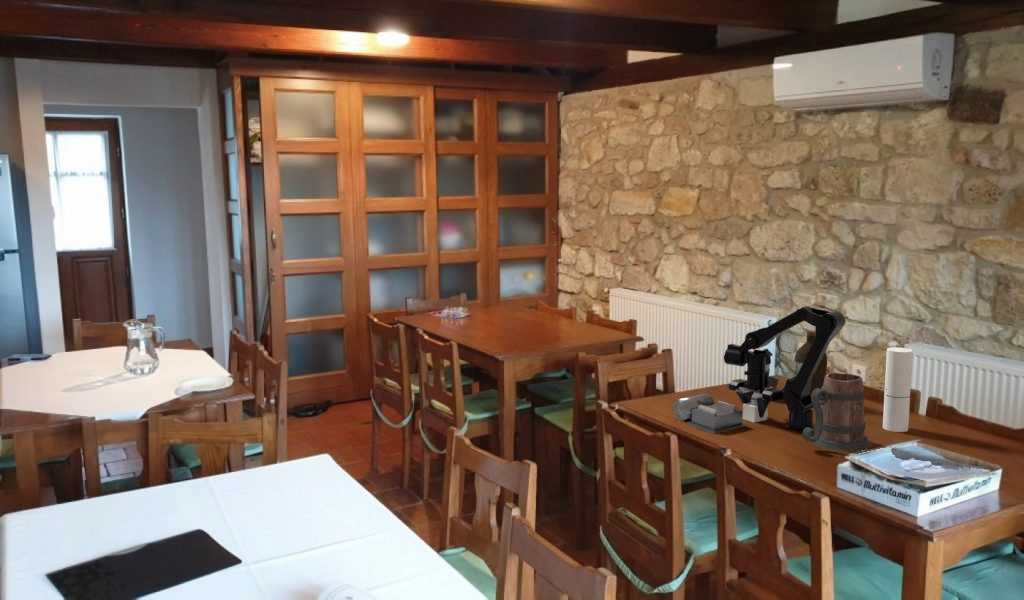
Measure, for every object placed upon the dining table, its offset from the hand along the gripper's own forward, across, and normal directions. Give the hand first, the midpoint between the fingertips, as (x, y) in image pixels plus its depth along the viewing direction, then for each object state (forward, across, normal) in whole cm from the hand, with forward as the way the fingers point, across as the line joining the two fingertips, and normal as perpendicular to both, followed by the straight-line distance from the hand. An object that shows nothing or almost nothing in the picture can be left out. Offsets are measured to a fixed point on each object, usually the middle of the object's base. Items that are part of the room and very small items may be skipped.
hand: (755, 415), depth 262 cm
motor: (+1, +6, +15) cm, 16 cm away
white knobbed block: (+1, 0, 0) cm, 1 cm away
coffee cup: (+1, +19, -22) cm, 29 cm away
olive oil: (+1, +4, -31) cm, 31 cm away
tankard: (+2, -30, 0) cm, 30 cm away
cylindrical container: (+1, -31, -28) cm, 42 cm away
